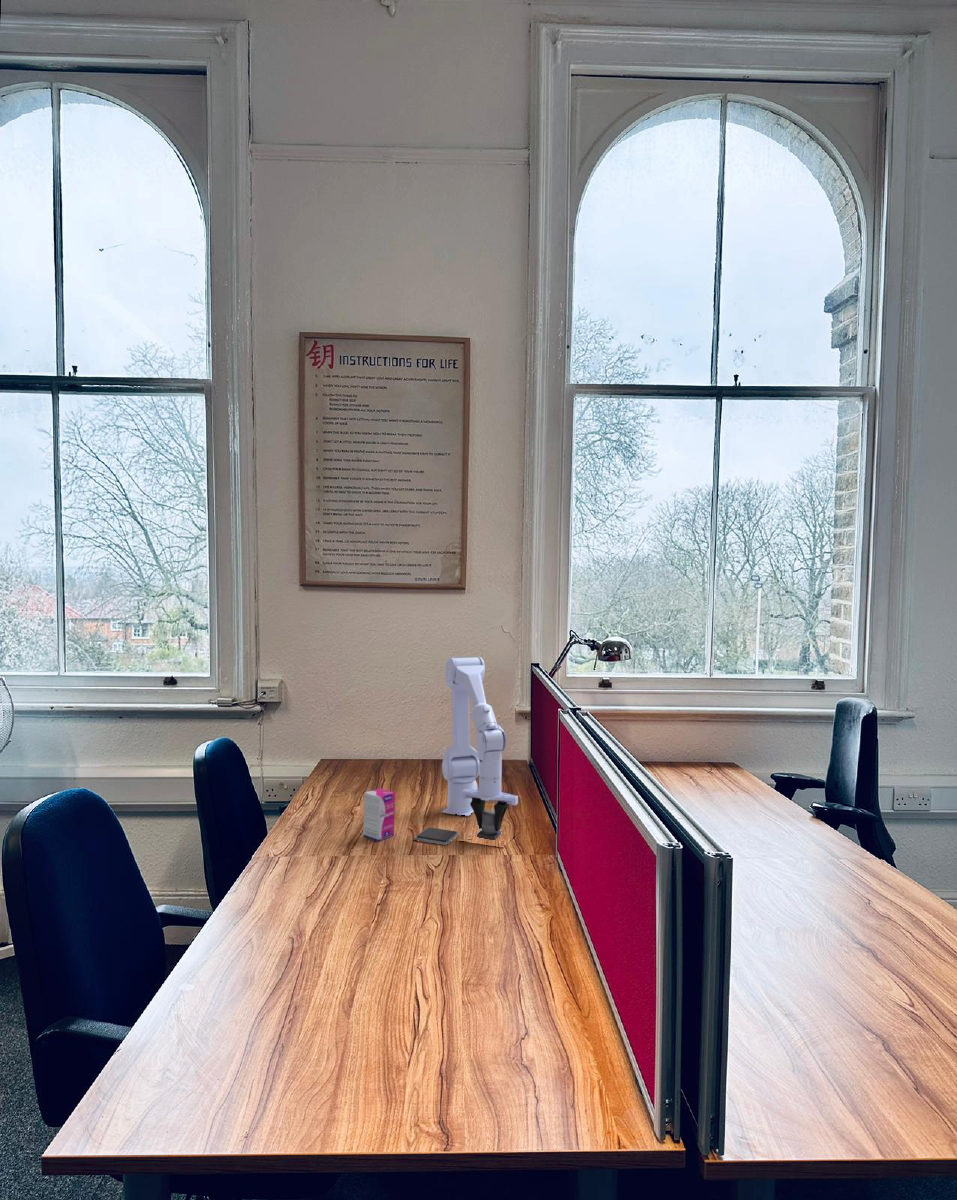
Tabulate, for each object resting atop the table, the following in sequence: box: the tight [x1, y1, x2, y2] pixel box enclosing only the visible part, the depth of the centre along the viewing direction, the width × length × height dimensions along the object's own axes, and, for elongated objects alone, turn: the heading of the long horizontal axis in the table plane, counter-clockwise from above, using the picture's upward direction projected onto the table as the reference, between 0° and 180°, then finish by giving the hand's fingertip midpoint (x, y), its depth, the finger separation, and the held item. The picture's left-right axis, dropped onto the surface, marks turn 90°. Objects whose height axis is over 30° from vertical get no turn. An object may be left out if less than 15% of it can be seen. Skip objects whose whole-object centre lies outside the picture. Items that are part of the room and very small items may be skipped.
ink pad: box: [413, 826, 460, 846], centre depth 191 cm, size 8×9×1 cm
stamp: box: [477, 810, 502, 840], centre depth 191 cm, size 5×5×6 cm
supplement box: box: [362, 787, 396, 842], centre depth 191 cm, size 6×6×12 cm
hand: (489, 828), depth 192 cm, fingers closed on stamp, 4 cm apart
